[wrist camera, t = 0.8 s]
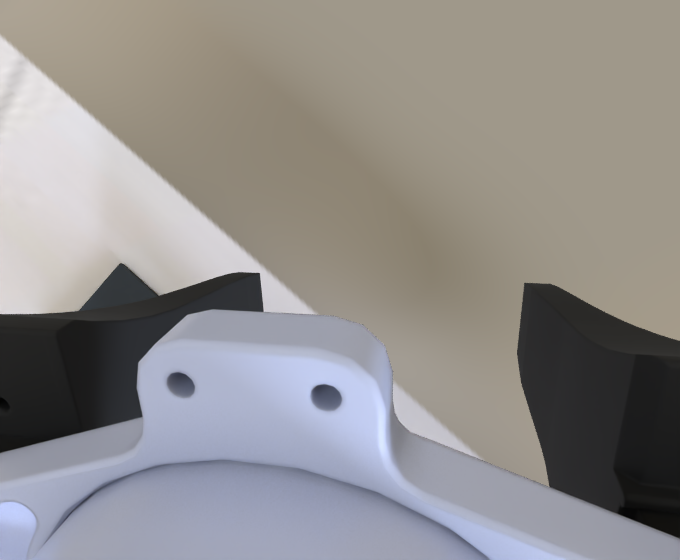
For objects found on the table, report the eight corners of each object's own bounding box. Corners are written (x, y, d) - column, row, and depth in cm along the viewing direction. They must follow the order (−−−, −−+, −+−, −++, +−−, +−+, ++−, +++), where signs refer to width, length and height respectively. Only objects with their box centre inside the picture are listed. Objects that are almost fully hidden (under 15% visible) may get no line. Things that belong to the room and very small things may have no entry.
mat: (109, 426, 35) (106, 427, 34) (39, 359, 36) (35, 360, 35) (193, 327, 35) (191, 327, 35) (122, 263, 36) (120, 262, 35)
